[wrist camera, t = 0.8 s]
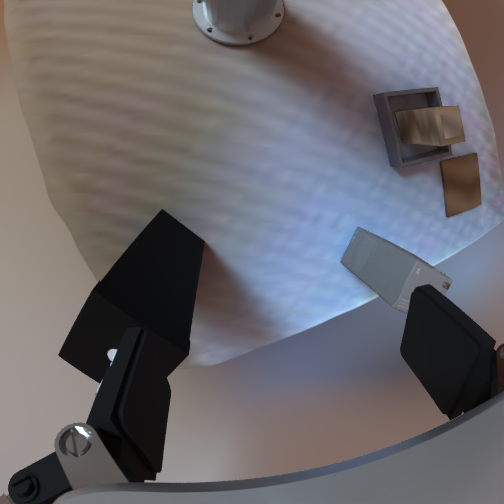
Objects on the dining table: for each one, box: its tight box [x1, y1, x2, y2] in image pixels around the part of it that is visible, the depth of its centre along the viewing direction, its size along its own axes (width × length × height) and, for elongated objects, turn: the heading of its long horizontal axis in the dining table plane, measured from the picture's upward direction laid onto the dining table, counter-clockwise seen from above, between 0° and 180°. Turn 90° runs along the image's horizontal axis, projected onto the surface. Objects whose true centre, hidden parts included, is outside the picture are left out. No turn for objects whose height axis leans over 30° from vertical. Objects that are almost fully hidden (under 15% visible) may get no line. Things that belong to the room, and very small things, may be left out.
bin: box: [373, 87, 452, 168], centre depth 37 cm, size 11×11×3 cm
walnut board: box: [440, 153, 481, 217], centre depth 43 cm, size 10×10×1 cm
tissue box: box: [58, 209, 205, 396], centre depth 29 cm, size 8×8×28 cm
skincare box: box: [341, 227, 452, 314], centre depth 38 cm, size 8×7×16 cm
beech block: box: [395, 106, 465, 146], centre depth 34 cm, size 5×5×10 cm
